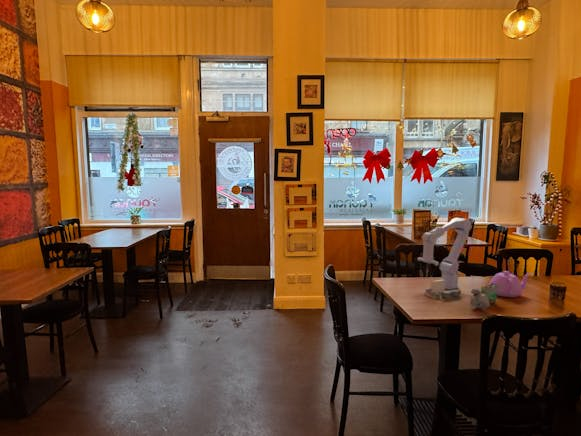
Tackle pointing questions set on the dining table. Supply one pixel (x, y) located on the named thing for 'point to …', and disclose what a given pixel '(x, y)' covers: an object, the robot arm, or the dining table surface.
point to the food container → (490, 292)
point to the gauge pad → (437, 286)
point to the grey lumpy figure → (479, 299)
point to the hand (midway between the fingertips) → (427, 274)
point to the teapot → (509, 284)
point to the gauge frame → (444, 294)
